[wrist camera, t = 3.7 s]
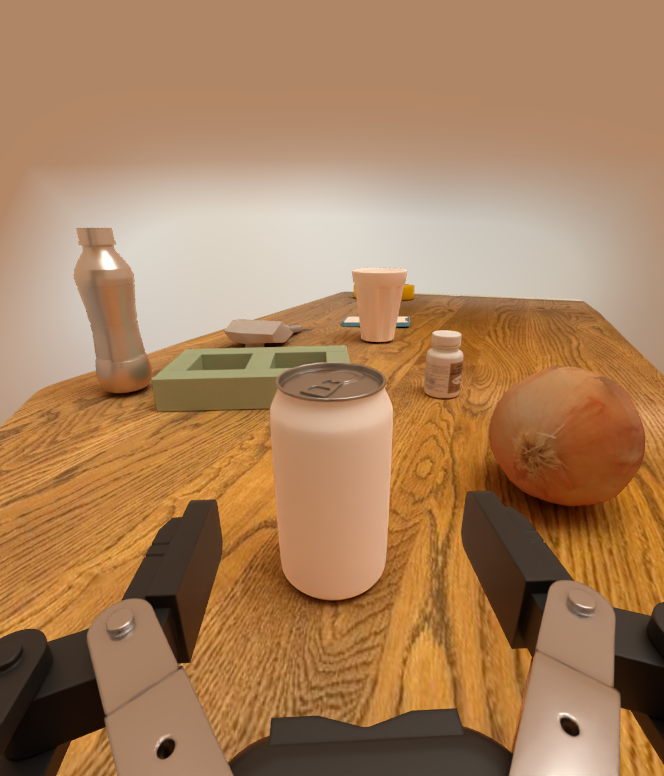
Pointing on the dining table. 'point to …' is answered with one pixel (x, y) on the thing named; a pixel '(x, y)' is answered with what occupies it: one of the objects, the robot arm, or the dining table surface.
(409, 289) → the element tile
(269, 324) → the turret
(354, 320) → the smartphone
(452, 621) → the dining table surface
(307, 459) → the can
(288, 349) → the holder
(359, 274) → the cup
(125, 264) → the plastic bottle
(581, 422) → the onion
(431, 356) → the pill bottle
